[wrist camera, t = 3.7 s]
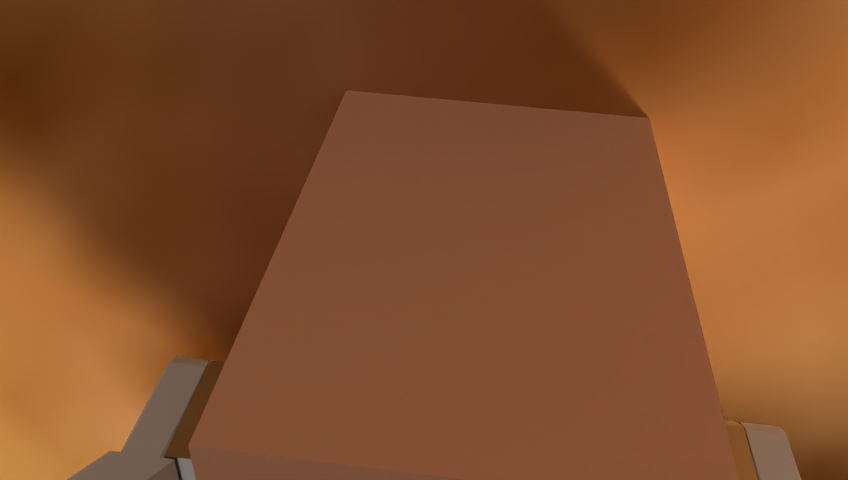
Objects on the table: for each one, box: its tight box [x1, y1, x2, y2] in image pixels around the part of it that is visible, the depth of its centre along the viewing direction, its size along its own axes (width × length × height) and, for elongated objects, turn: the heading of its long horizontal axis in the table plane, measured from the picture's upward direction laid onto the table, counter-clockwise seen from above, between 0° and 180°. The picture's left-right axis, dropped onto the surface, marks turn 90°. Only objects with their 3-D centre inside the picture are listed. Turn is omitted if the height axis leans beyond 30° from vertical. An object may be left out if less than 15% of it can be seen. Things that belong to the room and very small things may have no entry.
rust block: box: [188, 90, 739, 480], centre depth 10 cm, size 4×7×6 cm, turn 177°
